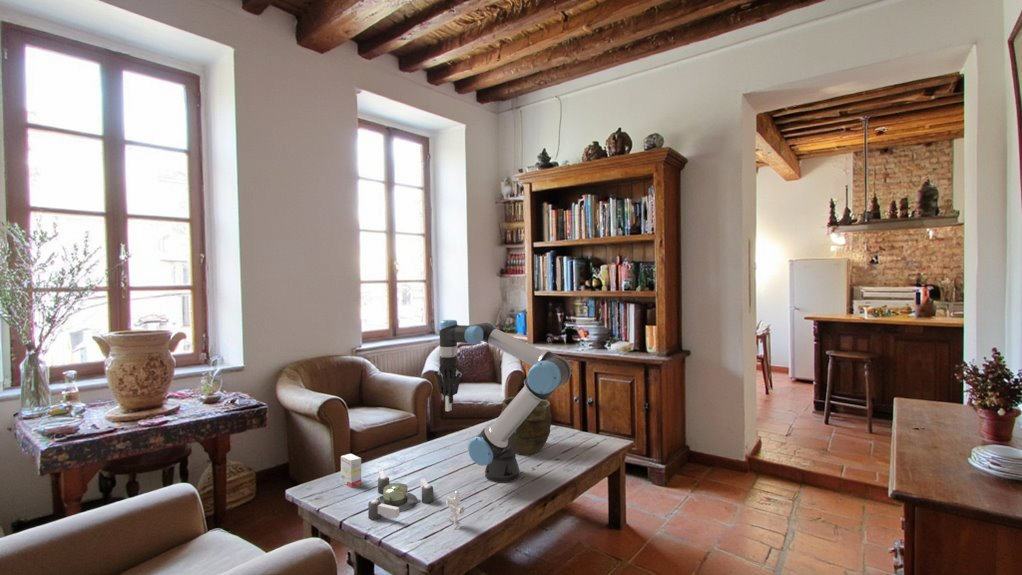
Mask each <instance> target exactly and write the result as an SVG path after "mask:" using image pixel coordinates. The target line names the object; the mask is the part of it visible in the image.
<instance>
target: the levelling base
mask: <svg viewBox="0 0 1022 575" xmlns="http://www.w3.org/2000/svg"><path fill="white" fill-rule="evenodd" d="M408 487H409V486H408V485H407V484H405V483H402V482H401V483H399V482H395V483H389V485H387V486H385V487H384V489H383V494H381V495H380V496H378V497H377V498H376V499H375V500H380V501H381V503H382V504H386V505H391V506H395V507H399V513H401V512H403V511H408V510H410V509H412V508H414V507H415V505H417V503H420V502H421V500H420V499H418V497H417V496H416V495H415V494H413V493H411V492H408V491H409V489H408Z"/></svg>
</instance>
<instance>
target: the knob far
mask: <svg viewBox="0 0 1022 575" xmlns="http://www.w3.org/2000/svg"><path fill="white" fill-rule="evenodd" d="M387 485H390V477H388V476H386V475H385V472H384V470H383V469H382V470H378V479H377V493H378V494H380V495H383V489H384V487H385V486H387Z"/></svg>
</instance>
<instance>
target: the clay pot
mask: <svg viewBox="0 0 1022 575" xmlns="http://www.w3.org/2000/svg"><path fill="white" fill-rule="evenodd" d="M515 397H516V396H510V397H506V398H505V399H503V400H502V403H501V405H502V409H501V411H500V412H501V413H502V412H503V411H504V410H505V409H506V407H507V406H508V405H509V404H510V403H511V401H512V400H513V399H514V398H515ZM501 413H500V414H501ZM552 416H553V414H552V412H551V402H550V401H549V400H548V399H547V400H545V401H543V400H541V401H540V402H539V404H538V405H537V406H536V407H535V408H534V409H533V411H532V412H531V413H530V414H529V415H528V416H527V418H526V419H525V420H524V421H523V422H522V423H521V424H520V426H519V427H518V428H517V429H516V455H519V456H530V455H532V454H536V453H538V452H540V451H541V450H542V449H543V448H544V447H545V445H546V443H547V441H548V439H549V436H550V434H551V428H552V427H551V426H552Z"/></svg>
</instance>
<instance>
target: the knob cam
mask: <svg viewBox="0 0 1022 575" xmlns="http://www.w3.org/2000/svg"><path fill="white" fill-rule="evenodd" d="M367 505H368V508H367V509H368V511H367V512H368V519H369V520H372V521H373V520H374V521H375V520H379V519H381V517H382V516H385V517H389V518H393V519H397V518H398V517H400V512H399V507H395V506H391V505H386V504H382V503H381V501H380V500H376V499H373V500H370V501H369V502H368V504H367Z"/></svg>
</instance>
